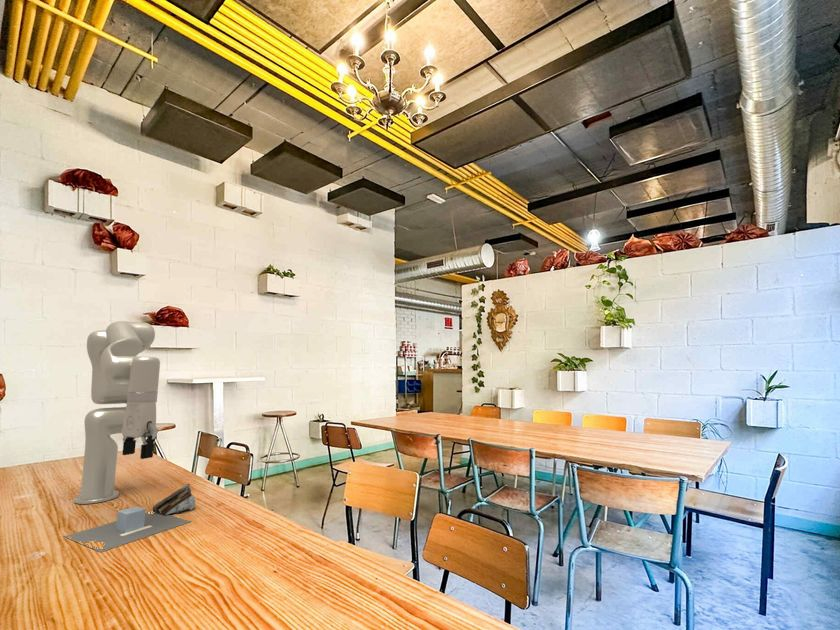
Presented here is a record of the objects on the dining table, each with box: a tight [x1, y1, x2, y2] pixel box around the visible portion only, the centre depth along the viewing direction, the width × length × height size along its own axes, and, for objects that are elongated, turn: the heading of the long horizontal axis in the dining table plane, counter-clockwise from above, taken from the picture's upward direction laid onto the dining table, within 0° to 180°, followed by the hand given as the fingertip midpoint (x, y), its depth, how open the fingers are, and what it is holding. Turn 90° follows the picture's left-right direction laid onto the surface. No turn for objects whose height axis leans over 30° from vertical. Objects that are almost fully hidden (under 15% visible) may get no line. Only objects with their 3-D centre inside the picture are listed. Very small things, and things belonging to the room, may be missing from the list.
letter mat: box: [63, 511, 192, 553], centre depth 120 cm, size 20×24×1 cm
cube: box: [116, 506, 146, 533], centre depth 120 cm, size 5×5×5 cm
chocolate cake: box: [152, 483, 196, 515], centre depth 135 cm, size 10×7×12 cm
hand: (137, 456), depth 123 cm, fingers open, 9 cm apart
